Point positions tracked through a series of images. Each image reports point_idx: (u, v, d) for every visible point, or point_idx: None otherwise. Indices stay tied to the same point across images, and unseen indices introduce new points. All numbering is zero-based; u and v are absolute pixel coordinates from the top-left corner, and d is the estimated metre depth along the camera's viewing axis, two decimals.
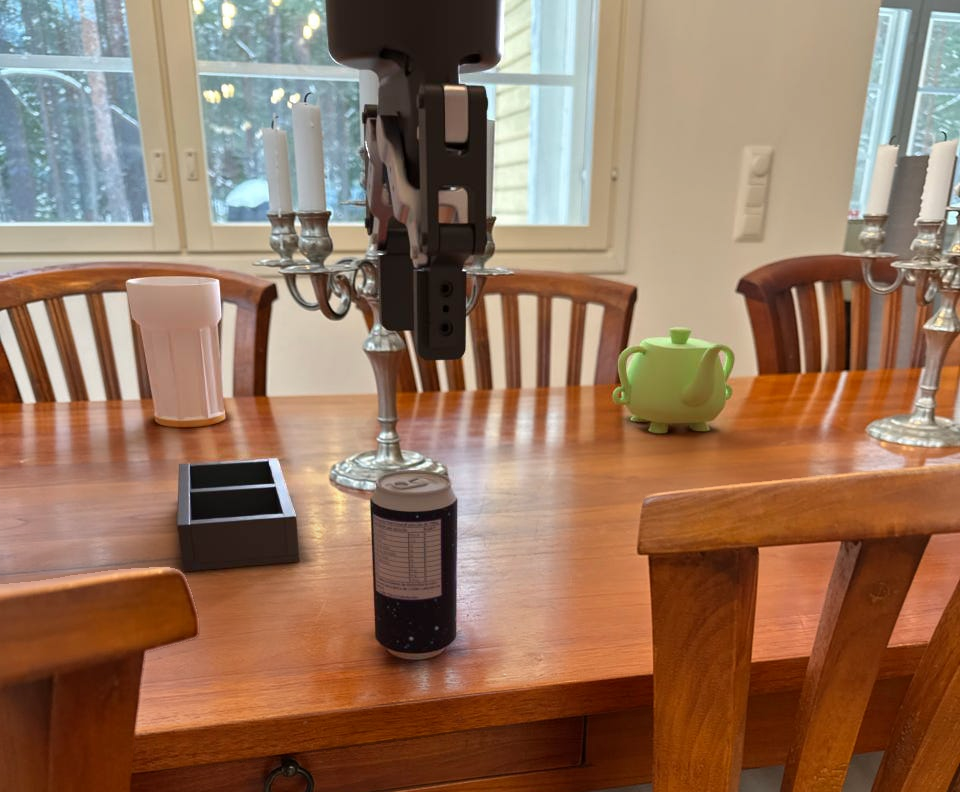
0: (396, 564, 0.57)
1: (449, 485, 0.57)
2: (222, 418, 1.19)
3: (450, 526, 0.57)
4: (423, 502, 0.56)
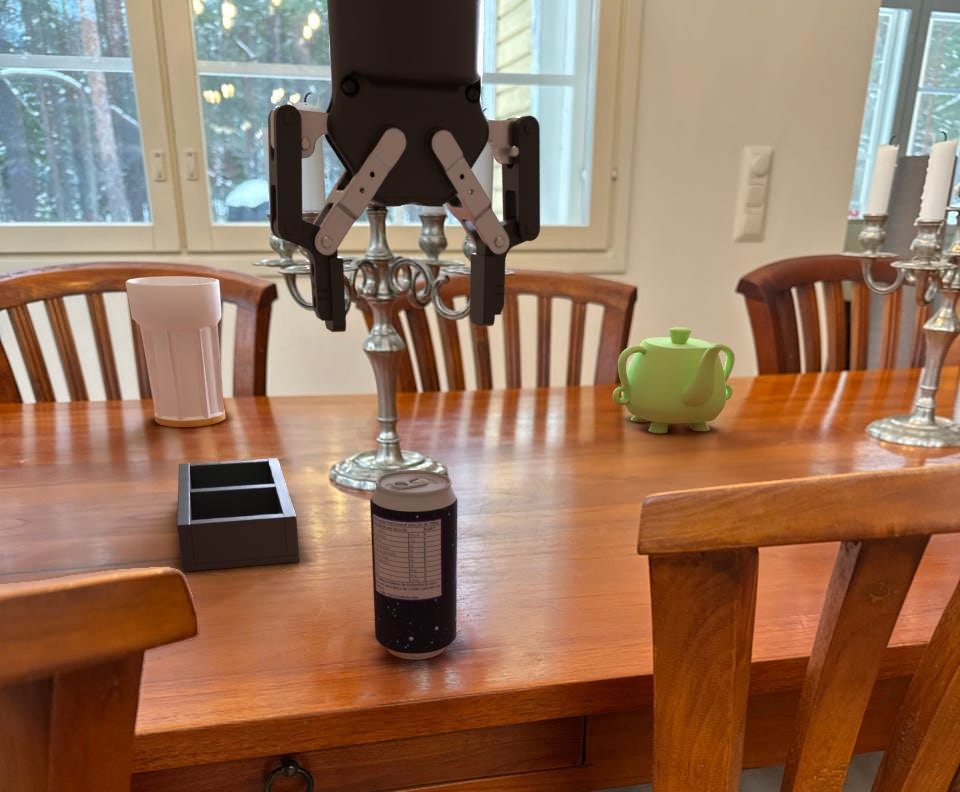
0: (396, 564, 0.57)
1: (449, 485, 0.57)
2: (222, 418, 1.19)
3: (450, 525, 0.57)
4: (423, 502, 0.56)
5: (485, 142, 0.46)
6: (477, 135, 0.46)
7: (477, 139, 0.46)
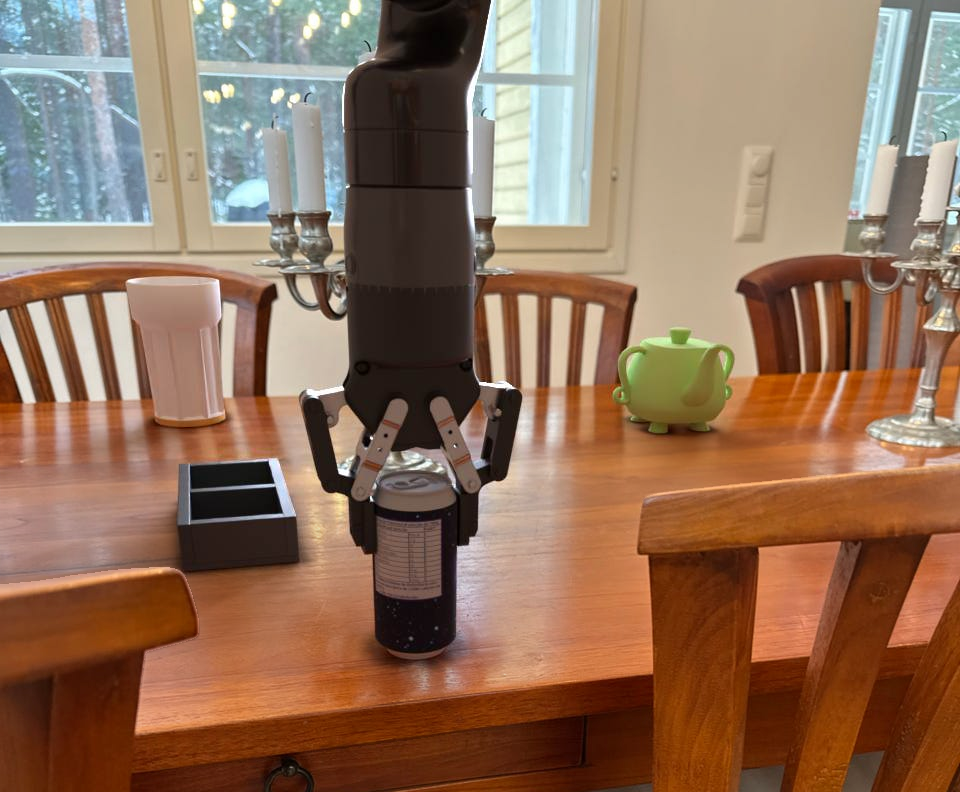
0: (396, 563, 0.57)
1: (449, 485, 0.57)
2: (222, 418, 1.19)
3: (451, 526, 0.57)
4: (423, 502, 0.56)
5: (477, 398, 0.55)
6: (469, 394, 0.55)
7: (469, 397, 0.55)
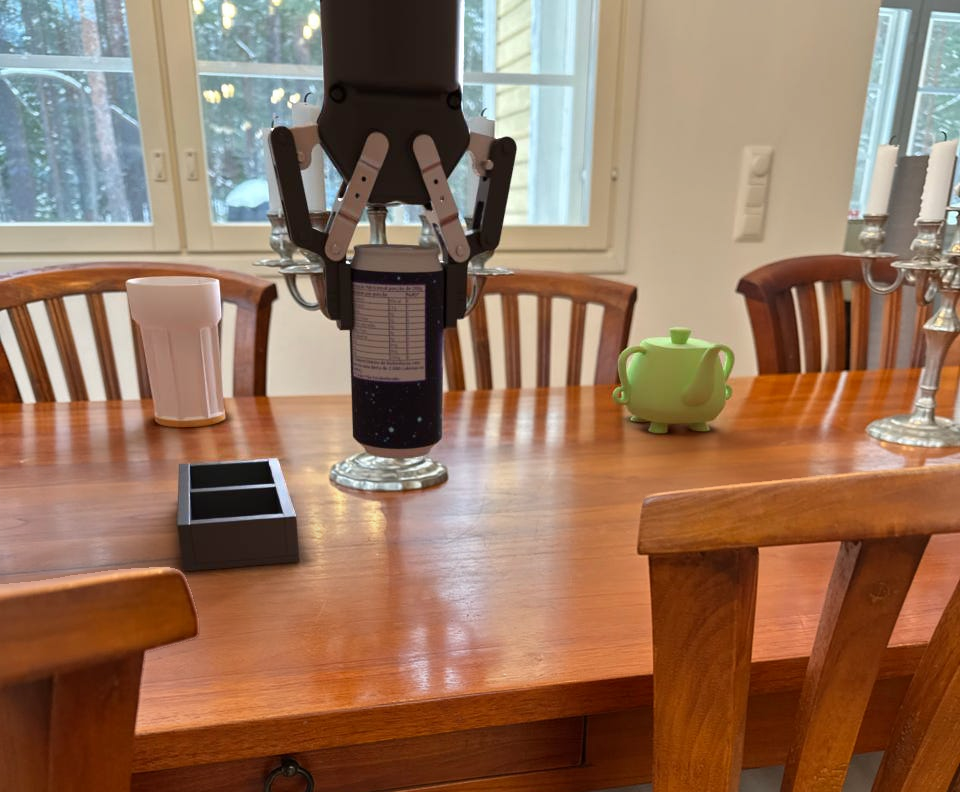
0: (375, 337, 0.52)
1: (435, 250, 0.51)
2: (222, 418, 1.19)
3: (436, 297, 0.52)
4: (405, 262, 0.50)
5: (466, 146, 0.50)
6: (458, 139, 0.49)
7: (458, 143, 0.49)
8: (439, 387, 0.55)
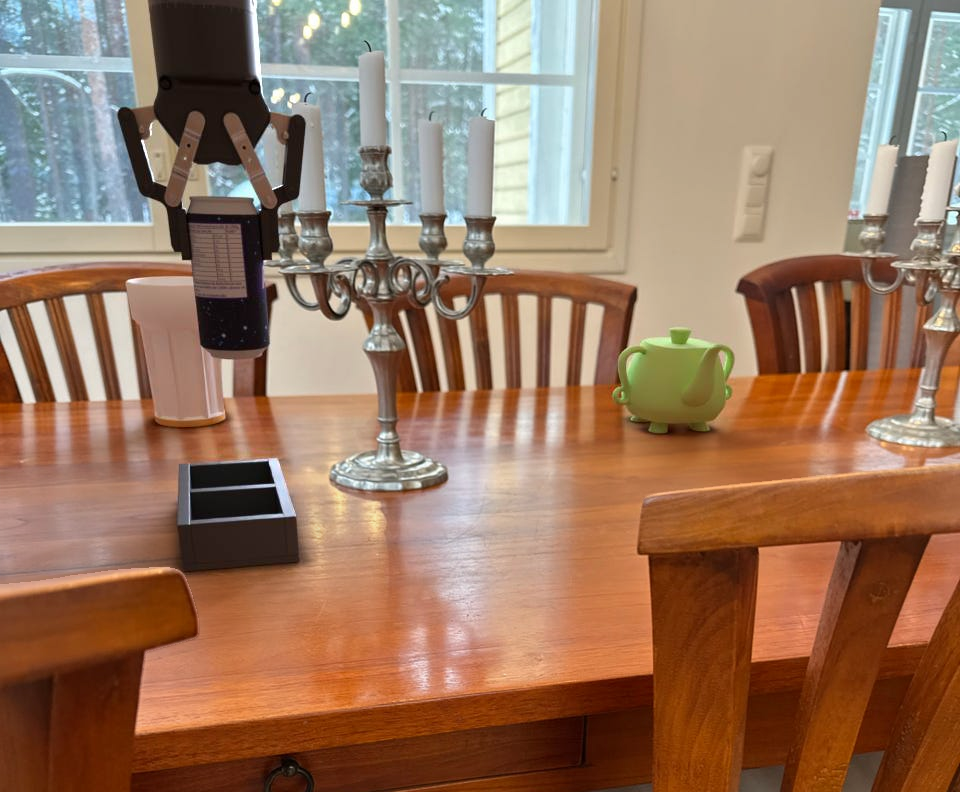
0: (206, 264, 0.70)
1: (249, 199, 0.70)
2: (222, 418, 1.19)
3: (251, 234, 0.70)
4: (224, 207, 0.68)
5: (267, 121, 0.68)
6: (260, 116, 0.68)
7: (260, 119, 0.68)
8: (261, 304, 0.73)
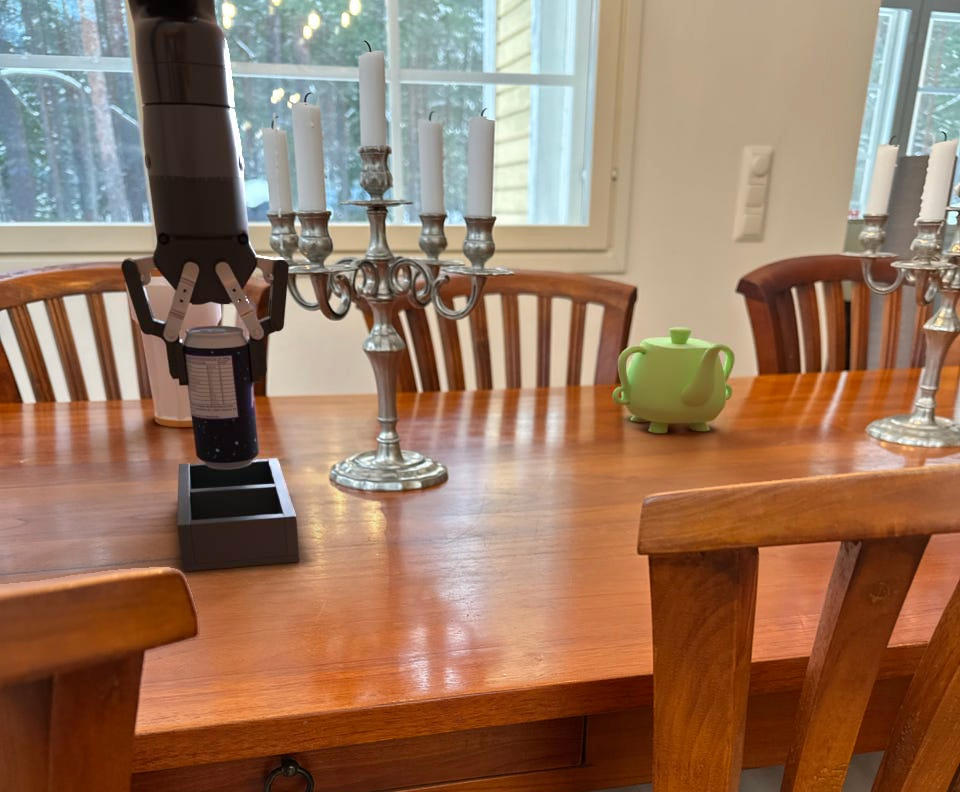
0: (201, 390, 0.78)
1: (239, 332, 0.78)
2: None
3: (241, 362, 0.79)
4: (216, 342, 0.77)
5: (254, 266, 0.76)
6: (247, 262, 0.76)
7: (248, 265, 0.76)
8: (250, 421, 0.81)
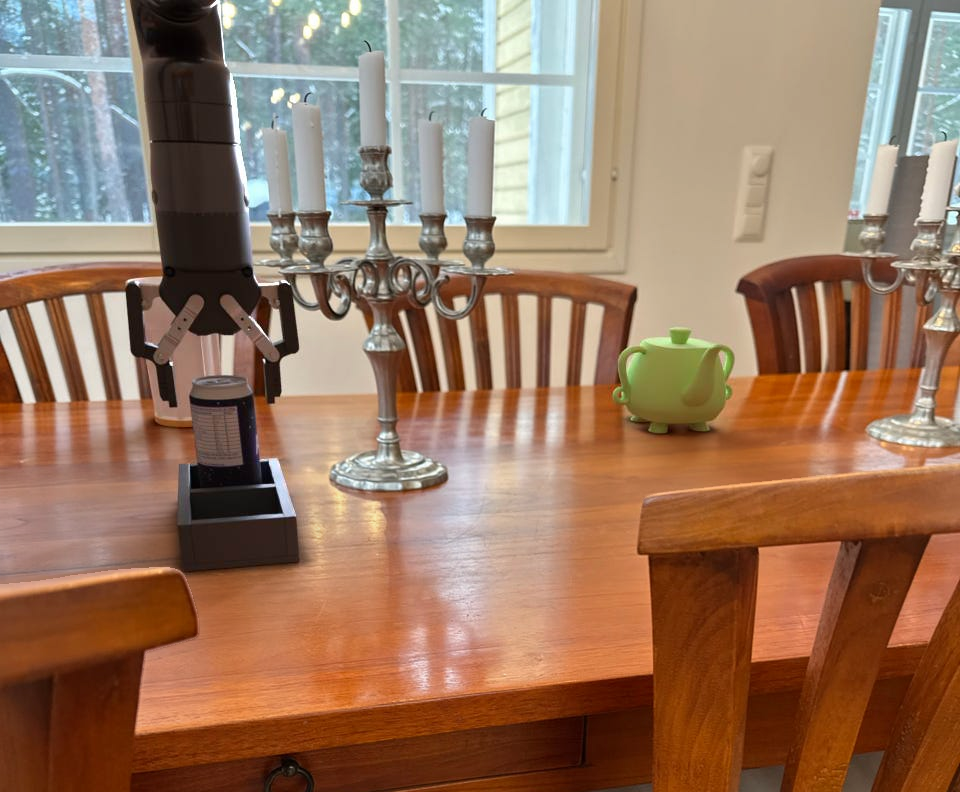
0: (207, 439, 0.80)
1: (244, 383, 0.80)
2: None
3: (246, 412, 0.80)
4: (222, 393, 0.79)
5: (258, 298, 0.77)
6: (252, 295, 0.77)
7: (252, 297, 0.77)
8: (255, 467, 0.83)
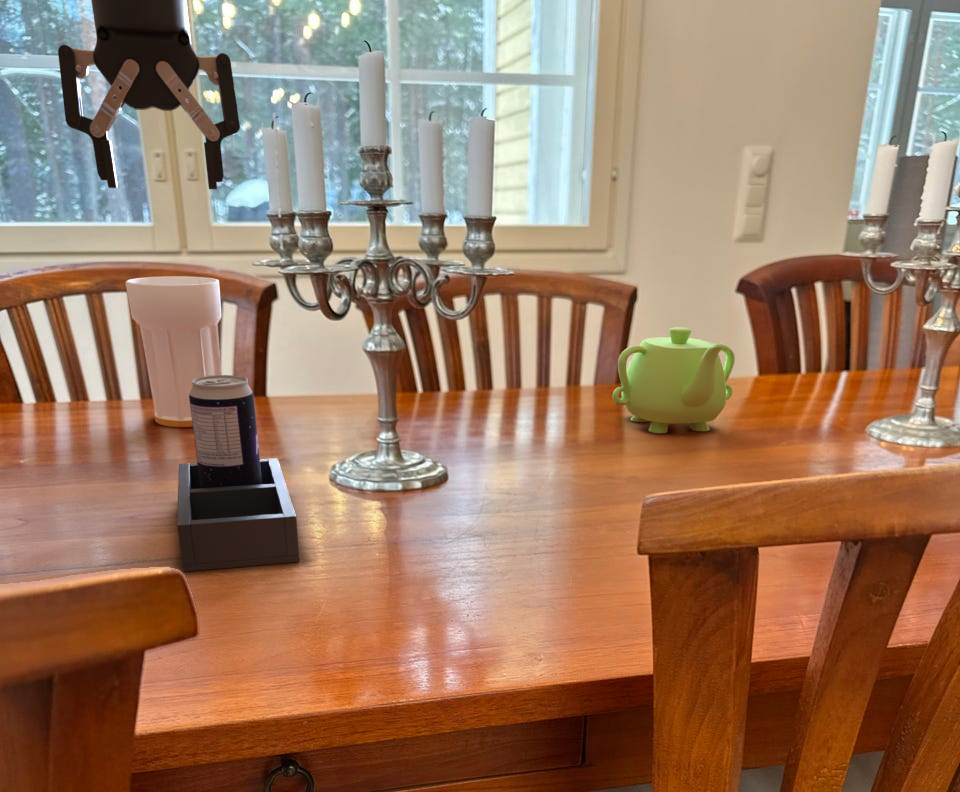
0: (207, 439, 0.80)
1: (244, 382, 0.80)
2: None
3: (246, 412, 0.81)
4: (222, 393, 0.79)
5: (196, 69, 0.76)
6: (189, 65, 0.76)
7: (189, 67, 0.76)
8: (255, 467, 0.83)
